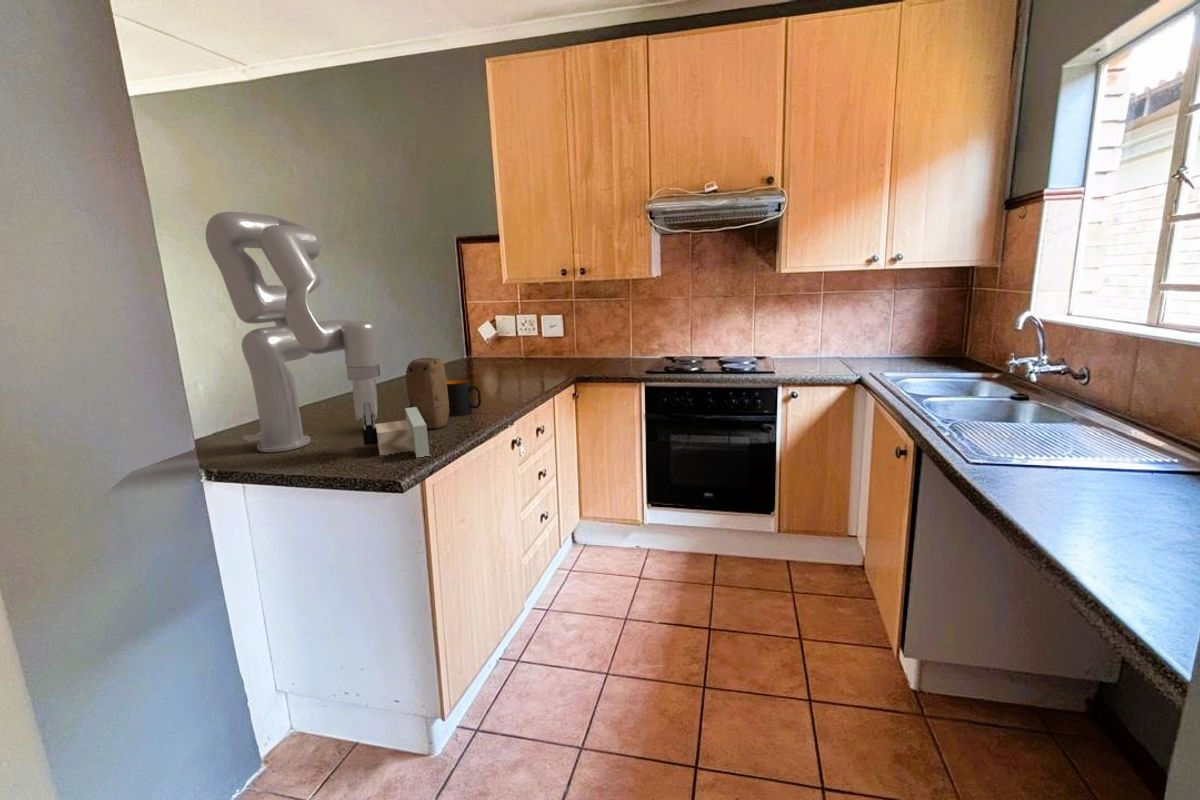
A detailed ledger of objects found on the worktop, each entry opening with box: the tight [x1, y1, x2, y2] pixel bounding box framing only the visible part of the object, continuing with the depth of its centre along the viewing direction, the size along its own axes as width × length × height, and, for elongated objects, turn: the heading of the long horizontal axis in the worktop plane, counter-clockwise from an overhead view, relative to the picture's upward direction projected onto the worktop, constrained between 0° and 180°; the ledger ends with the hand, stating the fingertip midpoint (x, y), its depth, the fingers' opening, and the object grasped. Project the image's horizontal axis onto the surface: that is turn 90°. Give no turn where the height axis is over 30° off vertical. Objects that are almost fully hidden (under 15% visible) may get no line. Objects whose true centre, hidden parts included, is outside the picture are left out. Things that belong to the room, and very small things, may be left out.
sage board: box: [404, 407, 431, 459], centre depth 146 cm, size 3×22×8 cm, turn 24°
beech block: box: [375, 419, 414, 457], centre depth 145 cm, size 8×10×6 cm
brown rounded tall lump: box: [405, 357, 450, 430], centre depth 164 cm, size 11×8×20 cm
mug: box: [447, 378, 482, 417], centre depth 179 cm, size 8×12×10 cm
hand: (371, 443), depth 142 cm, fingers closed
